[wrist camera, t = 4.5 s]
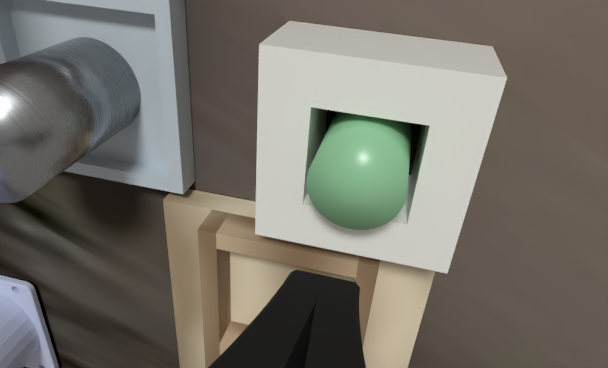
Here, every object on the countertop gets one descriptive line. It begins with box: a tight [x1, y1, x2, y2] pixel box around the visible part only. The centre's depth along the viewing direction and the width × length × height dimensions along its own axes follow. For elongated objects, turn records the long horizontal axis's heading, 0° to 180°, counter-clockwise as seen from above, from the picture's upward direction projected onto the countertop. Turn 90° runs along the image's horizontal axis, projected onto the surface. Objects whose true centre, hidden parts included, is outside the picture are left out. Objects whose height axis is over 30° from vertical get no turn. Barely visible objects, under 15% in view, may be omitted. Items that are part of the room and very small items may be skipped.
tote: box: [0, 0, 195, 194], centre depth 19 cm, size 8×8×1 cm
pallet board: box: [163, 189, 435, 368], centre depth 23 cm, size 12×14×3 cm
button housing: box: [255, 21, 507, 273], centre depth 16 cm, size 7×7×4 cm
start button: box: [307, 111, 412, 230], centre depth 16 cm, size 3×3×4 cm
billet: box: [0, 37, 141, 203], centre depth 17 cm, size 4×4×6 cm
